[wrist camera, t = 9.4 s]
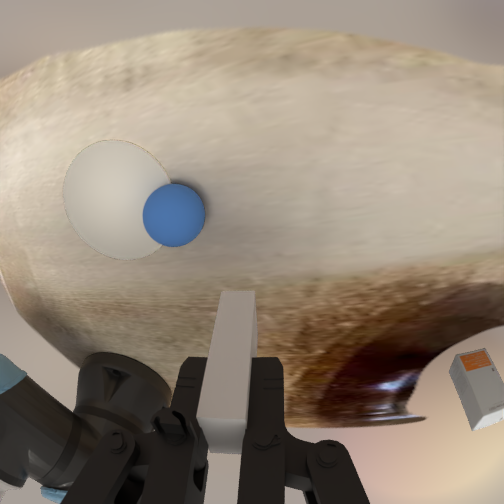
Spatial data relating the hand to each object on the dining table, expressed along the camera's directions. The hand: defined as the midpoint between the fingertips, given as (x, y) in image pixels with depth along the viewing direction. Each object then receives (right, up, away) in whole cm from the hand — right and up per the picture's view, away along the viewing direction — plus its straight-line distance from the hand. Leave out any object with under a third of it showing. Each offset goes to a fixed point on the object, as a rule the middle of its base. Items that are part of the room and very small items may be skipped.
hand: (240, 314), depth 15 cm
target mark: (-13, +8, +15) cm, 22 cm away
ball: (-6, +6, +13) cm, 15 cm away
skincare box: (+34, -14, +25) cm, 44 cm away
